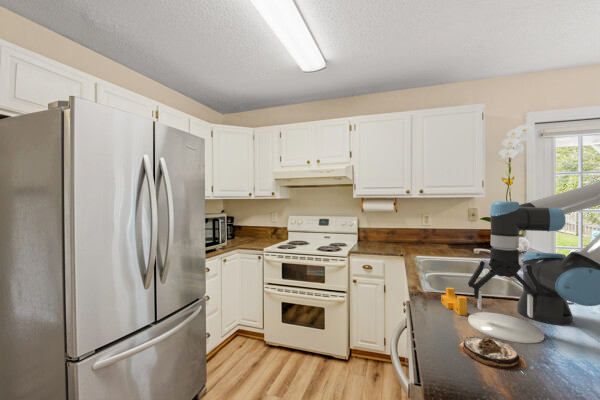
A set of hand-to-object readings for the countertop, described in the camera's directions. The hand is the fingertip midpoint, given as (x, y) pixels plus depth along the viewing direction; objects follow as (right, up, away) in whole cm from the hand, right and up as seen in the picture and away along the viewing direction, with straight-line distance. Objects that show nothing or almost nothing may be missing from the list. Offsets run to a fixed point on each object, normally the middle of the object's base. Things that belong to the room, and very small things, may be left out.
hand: (503, 312), depth 90 cm
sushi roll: (-10, -8, -17) cm, 22 cm away
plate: (0, -5, 0) cm, 5 cm away
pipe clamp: (-8, -6, +16) cm, 19 cm away
